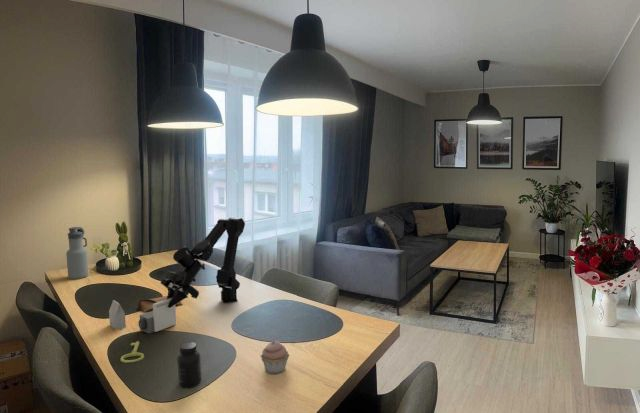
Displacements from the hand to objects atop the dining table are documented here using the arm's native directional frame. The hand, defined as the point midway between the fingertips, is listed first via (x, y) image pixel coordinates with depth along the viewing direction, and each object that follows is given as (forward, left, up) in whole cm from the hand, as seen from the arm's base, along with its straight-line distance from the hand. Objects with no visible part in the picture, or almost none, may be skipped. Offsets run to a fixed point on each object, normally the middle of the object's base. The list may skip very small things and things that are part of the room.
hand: (167, 306), depth 162 cm
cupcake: (-30, +47, -9) cm, 56 cm away
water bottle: (+41, -91, -9) cm, 100 cm away
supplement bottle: (-4, +44, -9) cm, 45 cm away
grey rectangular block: (+5, -2, -9) cm, 10 cm away
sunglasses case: (+1, -26, -9) cm, 27 cm away
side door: (+1, +1, -8) cm, 8 cm away
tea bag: (+18, -10, -9) cm, 23 cm away
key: (+12, +18, -9) cm, 24 cm away
